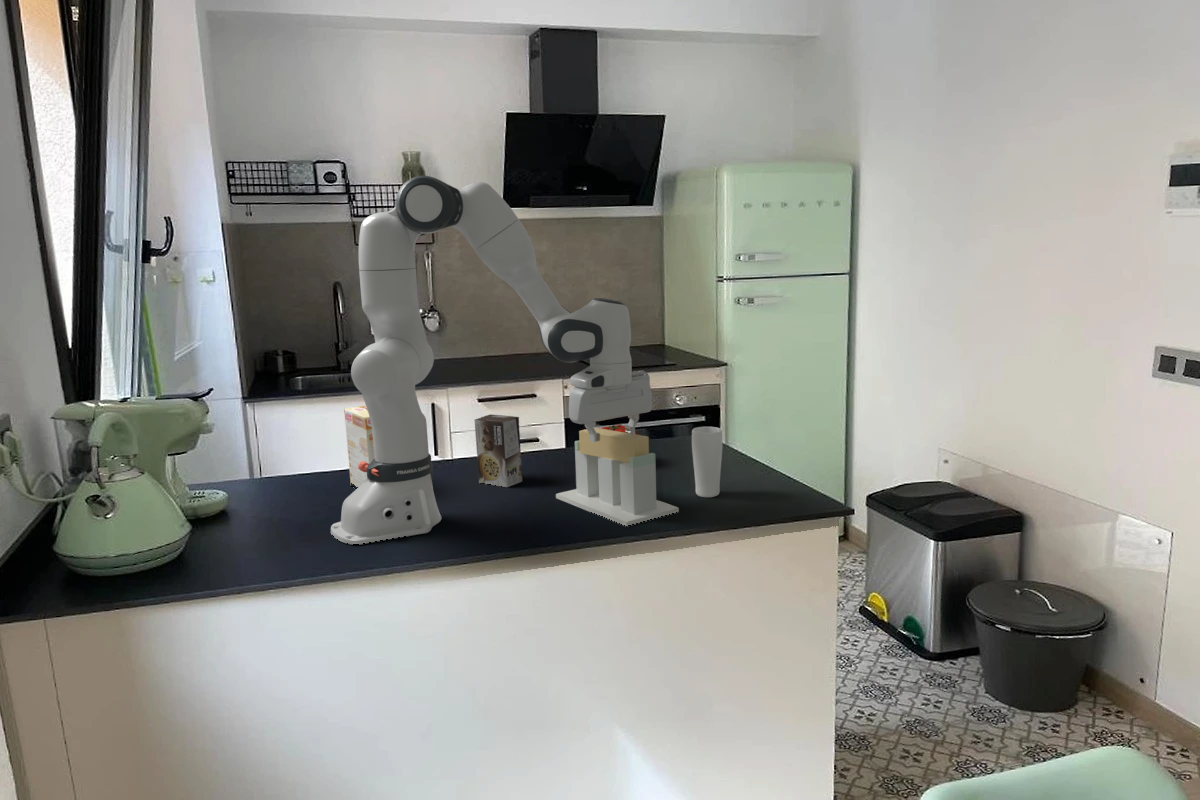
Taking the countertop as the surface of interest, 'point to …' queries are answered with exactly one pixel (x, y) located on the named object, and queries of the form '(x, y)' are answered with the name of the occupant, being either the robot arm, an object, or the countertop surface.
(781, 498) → the countertop surface
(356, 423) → the coffeecake box
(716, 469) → the drinking glass
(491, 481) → the coffee box
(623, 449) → the tan wooden plank
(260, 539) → the countertop surface
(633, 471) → the display stand
